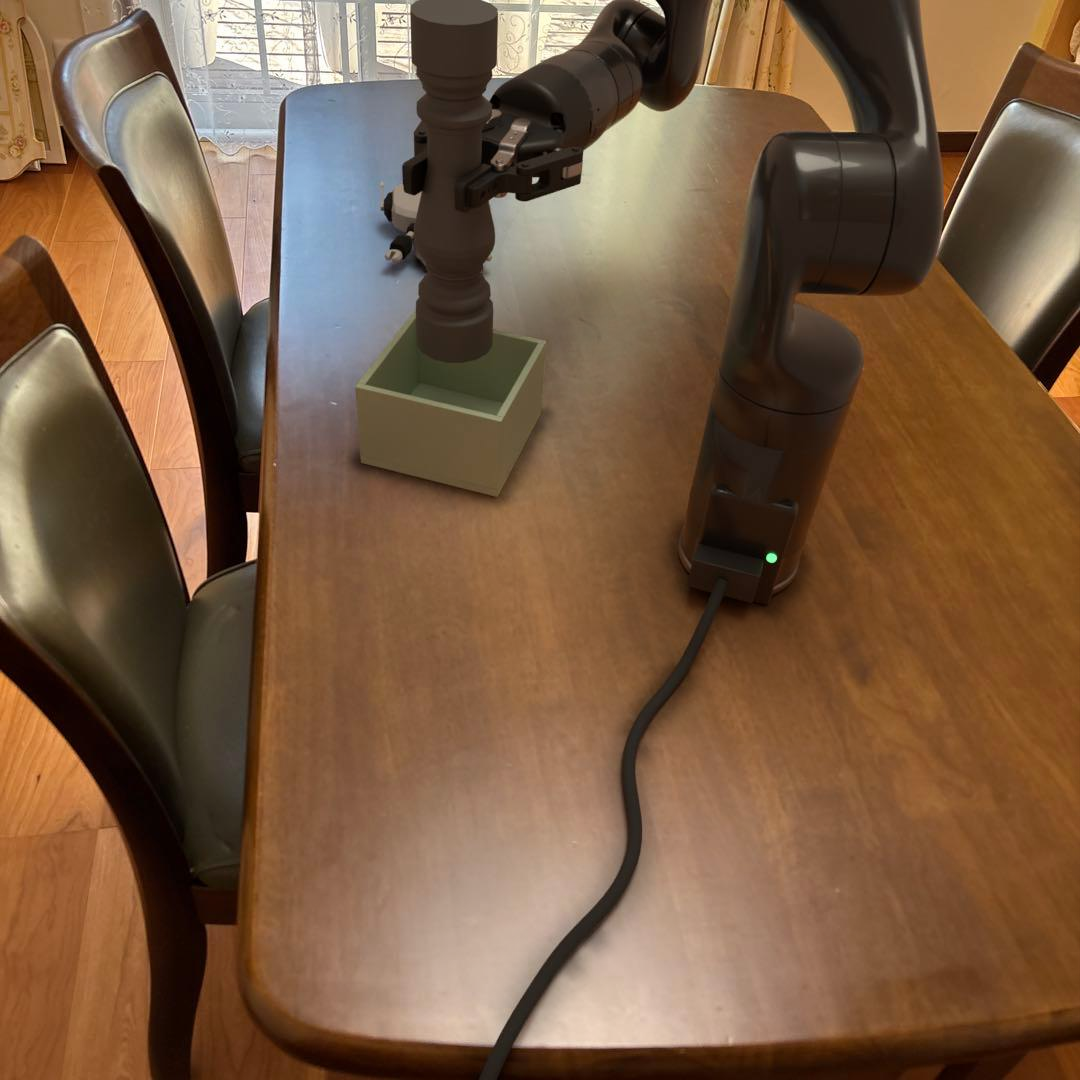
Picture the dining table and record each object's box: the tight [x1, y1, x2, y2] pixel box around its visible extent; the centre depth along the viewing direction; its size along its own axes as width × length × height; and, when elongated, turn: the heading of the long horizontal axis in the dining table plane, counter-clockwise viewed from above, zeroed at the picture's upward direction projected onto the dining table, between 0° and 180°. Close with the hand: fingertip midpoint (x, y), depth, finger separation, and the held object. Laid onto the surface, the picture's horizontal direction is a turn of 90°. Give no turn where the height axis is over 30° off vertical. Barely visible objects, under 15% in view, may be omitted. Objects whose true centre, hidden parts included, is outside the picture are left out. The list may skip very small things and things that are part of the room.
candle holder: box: [409, 0, 499, 363], centre depth 74 cm, size 6×6×25 cm
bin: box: [354, 311, 547, 498], centre depth 87 cm, size 12×12×8 cm
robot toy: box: [380, 181, 493, 267], centre depth 113 cm, size 12×4×15 cm
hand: (433, 189), depth 71 cm, fingers closed on candle holder, 3 cm apart
